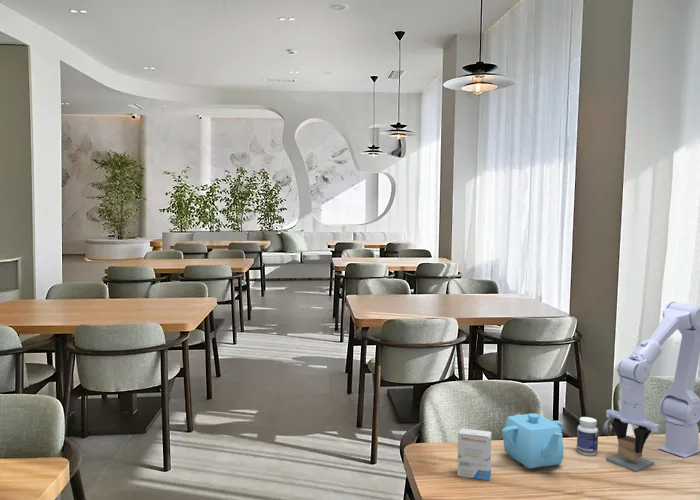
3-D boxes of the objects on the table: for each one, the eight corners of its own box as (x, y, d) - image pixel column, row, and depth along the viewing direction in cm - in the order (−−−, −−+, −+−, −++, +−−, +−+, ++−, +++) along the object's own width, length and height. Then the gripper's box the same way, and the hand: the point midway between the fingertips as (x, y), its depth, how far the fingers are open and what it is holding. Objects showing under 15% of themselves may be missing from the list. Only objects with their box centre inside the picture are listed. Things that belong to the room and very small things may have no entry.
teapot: (493, 464, 166) (494, 417, 165) (512, 445, 179) (513, 401, 178) (561, 480, 156) (562, 431, 155) (575, 459, 169) (576, 413, 169)
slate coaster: (624, 453, 173) (624, 450, 173) (654, 464, 166) (654, 461, 166) (605, 460, 168) (606, 457, 168) (635, 472, 161) (636, 469, 161)
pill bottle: (599, 457, 171) (600, 423, 170) (578, 455, 172) (579, 421, 171) (595, 449, 176) (596, 416, 176) (575, 447, 178) (576, 415, 177)
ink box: (491, 473, 160) (492, 430, 159) (489, 481, 155) (490, 437, 154) (459, 468, 163) (460, 426, 162) (456, 476, 158) (457, 433, 157)
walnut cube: (627, 450, 170) (627, 435, 170) (642, 456, 166) (642, 440, 166) (618, 454, 168) (618, 438, 167) (633, 459, 164) (633, 444, 164)
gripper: (600, 397, 170) (598, 443, 171) (649, 411, 158) (647, 461, 159) (614, 393, 174) (613, 438, 175) (663, 407, 162) (661, 455, 163)
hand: (630, 449), depth 167 cm, fingers closed on walnut cube, 4 cm apart
